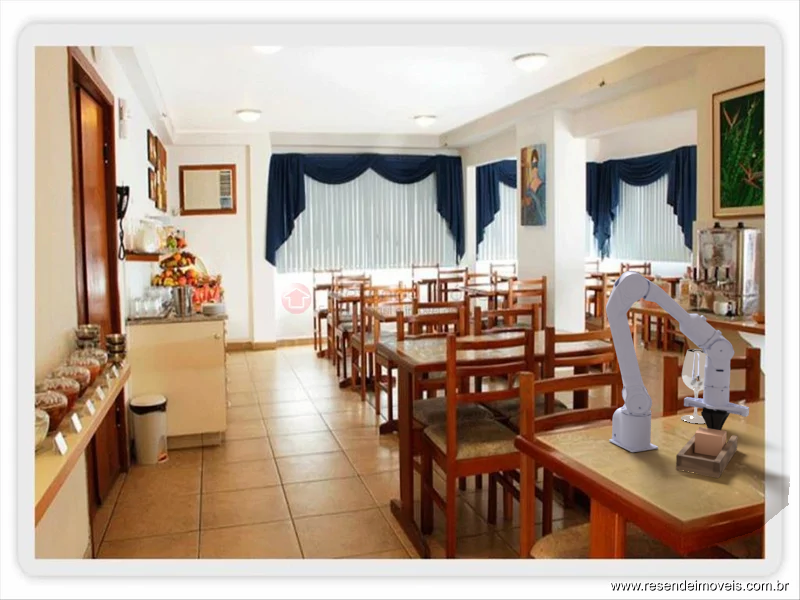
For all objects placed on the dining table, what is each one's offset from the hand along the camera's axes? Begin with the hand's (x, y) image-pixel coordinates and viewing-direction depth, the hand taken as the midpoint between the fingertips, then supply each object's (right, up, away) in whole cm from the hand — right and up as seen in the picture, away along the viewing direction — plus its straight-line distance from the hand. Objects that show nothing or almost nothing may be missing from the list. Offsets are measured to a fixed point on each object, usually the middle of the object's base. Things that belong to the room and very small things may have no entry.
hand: (714, 439), depth 166 cm
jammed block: (-3, -2, -3) cm, 5 cm away
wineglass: (+7, 0, +26) cm, 27 cm away
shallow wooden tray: (-4, -4, -5) cm, 8 cm away
